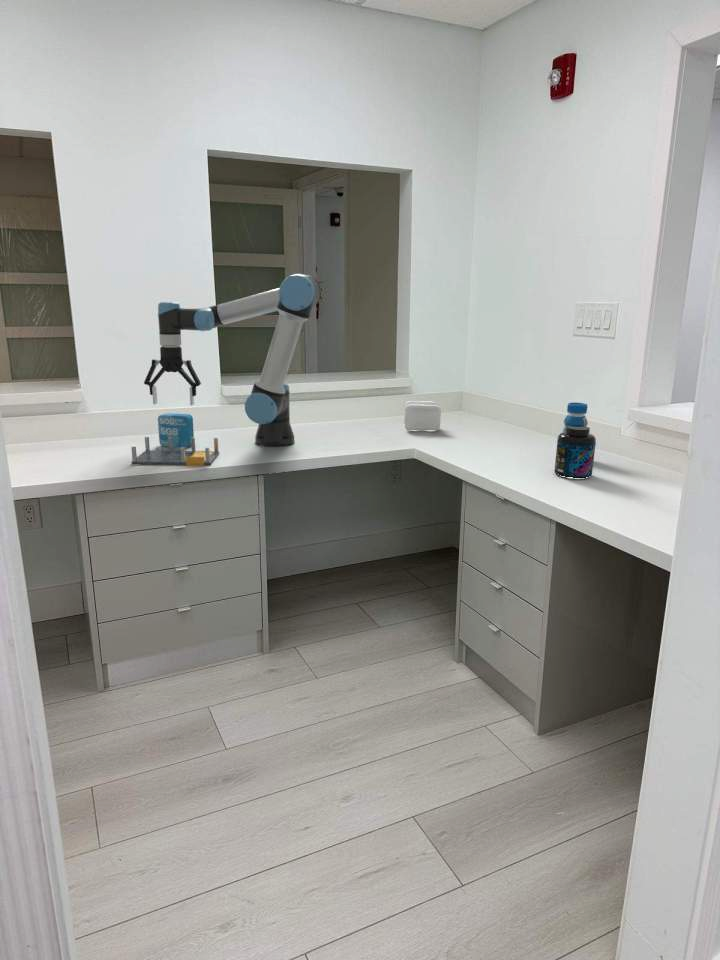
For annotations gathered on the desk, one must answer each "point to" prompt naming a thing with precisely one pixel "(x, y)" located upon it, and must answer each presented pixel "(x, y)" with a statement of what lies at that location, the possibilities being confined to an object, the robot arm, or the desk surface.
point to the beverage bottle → (575, 415)
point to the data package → (175, 429)
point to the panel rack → (175, 455)
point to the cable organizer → (422, 415)
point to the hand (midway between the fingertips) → (173, 404)
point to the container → (575, 452)
